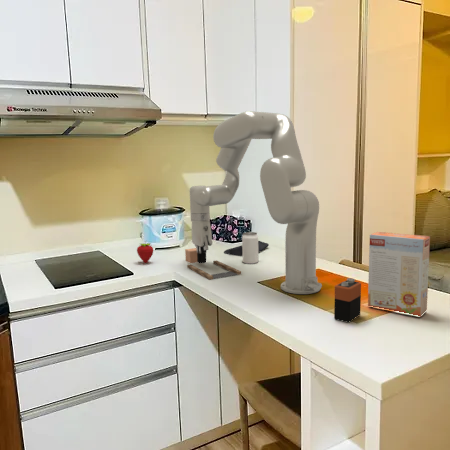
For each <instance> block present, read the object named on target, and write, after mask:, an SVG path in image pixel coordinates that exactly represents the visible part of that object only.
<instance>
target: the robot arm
mask: <svg viewBox="0 0 450 450" xmlns="http://www.w3.org/2000/svg"><path fill="white" fill-rule="evenodd" d="M213 131H214V132H213V136H212V137H213V142H214V144H215V145H216V147H218V148H220V150H219V152H218V154H217V157H216V158H215V159H216V160H215V162H216V164H217V166H218V167H219V168H221V169H222V170H224V171H225V174H226V175H225V177H224V180H223V182H222V183H221V184H217V185H216V184H215V185H207V186H206V185H191V187H190V188H189V207H190V208H189V210H190V213H189V214H190V222H191V242H192V244H194V246H195V248H196V250H197V262H196V263H198V264H204V263H207V251H208V250H209V246H210V247H211V246H212V245H213V237H212V236H213V235H212V226H211V222H210V220H211V218H210V207H213V206H221V205H226V204H228V203H230V202H231V201H232V200H233V198H234V197H235V194H236V193H237V190H238V189H239V187H240V186H239V185H240V172H239V168H240V167H239V166H240V165H241V164H242V163H241V162H242V161H243V159H244V157H245V154H246V152H247V150H248V148H249V146H250V144H251V142H252V140H253V139H254V140H271V142H270V151H271V154H272V157H269V158H267V160H265V161H264V162H263V164H262V165H261V168H260V173H259V179H260V184H261V189H262V191H263V195H264V198H265V203H266V206H267V209H268V213H269V215H270V217H271V219H272V220H273V221H274V222H275V223H277V224H280V225H287V226H286V229H285V240H284V241H285V242H284V243H285V244H284V245H285V249H284V250H285V251H284V252H285V255H284V257H285V258H284V259H285V281H283V282H282V283H281V284H280V289H281V290H282V291H284V292H286V293H289V294H294V295H309V294H315V293H318V292H319V291H320V290H321V288H322V287H323V285H322V283H321V282H319V281H318V276H317V275H316V274H317V272H316V269H317V266H316V265H317V264H316V263H317V226H318V218H319V215H320V214H319V213H320V201H319V199H318V197H317V195H316V194H315V193H314V192H312V191H310V190H307V189H299V190H292V189H291V188H295V187H299V186H301V185H303V183H305V180H306V178H307V173H306V172H307V171H306V167H305V165H304V164H305V163H304V161H303V158H302V154H301V150H300V147H299V143H298V139H297V136H296V135H297V134H296V130H295V127H294V124H293V121H292V119H290V117H289V116H287V115H285V114H283V113H278V112H276V113H275V112H264V111H247V110H246V111H243V112H241V113H238V114H236V115H234V116H232V117H230V118H227V119H226V120H223V121H222V122H220V123H219V124H218V125H217V126H216V127H215V129H214V130H213Z"/></svg>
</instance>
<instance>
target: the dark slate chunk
mask: <svg viewBox="0 0 450 450" xmlns="http://www.w3.org/2000/svg"><path fill="white" fill-rule="evenodd" d="M269 246H270V245H269V243H267V242H264V241H261V240H258V254H259V253H261V252H263V251H265V249H266V248H268V247H269ZM223 254H225V255H231V256H236V257H243V253H242V245H238V246H235V247H232V248H228V249H226V250H224V251H223Z"/></svg>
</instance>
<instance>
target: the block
mask: <svg viewBox="0 0 450 450" xmlns="http://www.w3.org/2000/svg"><path fill="white" fill-rule="evenodd" d="M184 253H185V254H184V255H185V261H186V262H187V263H188V264H195V263H198V262H197V250H196V247H193V248H187V249H184Z"/></svg>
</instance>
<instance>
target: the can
mask: <svg viewBox="0 0 450 450" xmlns="http://www.w3.org/2000/svg"><path fill="white" fill-rule="evenodd" d="M241 238H242V241H241V242H242V244H241V246H242V253H243V256H242V263H244V264H247V265H253V264H254V265H255V264H257V263H258V262H259V253H258V241H259V236H258V232H254V231H248V232H243V233H242V236H241Z"/></svg>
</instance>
